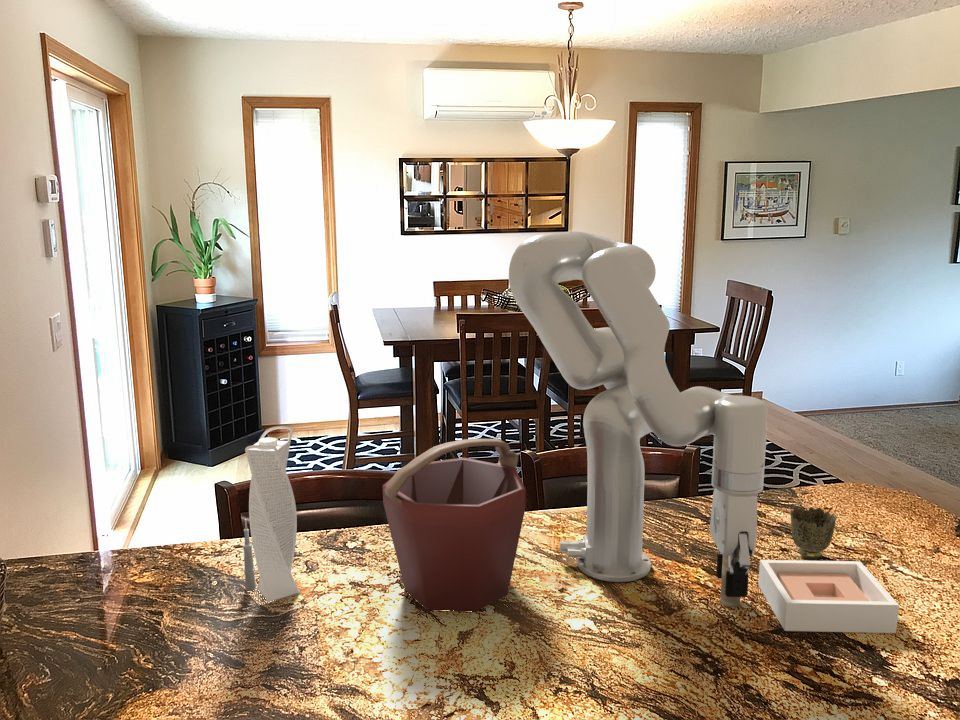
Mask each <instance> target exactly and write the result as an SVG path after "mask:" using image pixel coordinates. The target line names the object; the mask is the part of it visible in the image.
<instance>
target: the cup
mask: <svg viewBox="0 0 960 720" xmlns="http://www.w3.org/2000/svg"><path fill="white" fill-rule="evenodd" d="M836 522H837V516H836V515H835V513H832V514H830V512H829V510H827V511H824V510H823V509H822V508H821V507H818V508H814V507H813V506H809V508H808V510H802V507H801V506H800V507H796V506H795V507H793V510H792V509H790V527H791V530H790V531H791V537H792V540H793V542H794V544H795V545H796V547H798V548H799V549H798V552H799V555H800V556H801V557H802V558H804V559H807V560H810V561H816V560H819V559H820V558H821V556H822V552H823V551H825V550H827V548H829V547H830V544H831V543H832V540H833V535H834V531H835V526H836Z"/></svg>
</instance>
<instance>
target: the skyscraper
mask: <svg viewBox="0 0 960 720" xmlns="http://www.w3.org/2000/svg"><path fill="white" fill-rule="evenodd" d="M275 430H289V435H288V438H287V440H278V438H277V437H274V436H269V437H268V436H266V435H267V434H268V433H269V432H270V433H271V432H272V431H275ZM294 431H295V429H294V428H293V427H292V426H287V425H277V426H272V427H269V428H267V429H265V431H264V432H263V433H262V434H261V436H260V437H259V439H258V441H257V442H255V443H254V444H253V445H248V446H246V447H245V448H244V451H245V454H246V458H247V463H248V465H249V466H248V467H249V471H250V474H251V478H250V484H249V494H248V518H249V528H250V529H249V528H248V522H247V519H246V518H245V519H244V529H243V533H244V543H243V544H242V549H243V558H244V559H243V560H244V565H243V566H244V570H243V572H244V580H245V581H244V582H245V583H244V584H245V585H244V588H245V590H246V591H245V590H244V591H245V593H246V592H247V591H252V592H256V595H258V598H262V597H264V599H263V598H262V600H261V599H260V601H261V602H265V601H267V603H268V602H270V601H273V600H274V601H275V600H278V601H280V600H279V599H281V600H283V599H282V598H285V599H287V598H286V597H288V598H291V597H293V595H294V596H297V595H296V594H298V595H300V594H301V592H300V590H299V587H298V586H297V583H296V581H295V580H294V577H293V574H292V568H293V564H294V557H295V552H296V542H297V533H298V532H297V527H298V522H297V521H298V520H297V519H298V517H297V506H296V500H295V495H294V490H293V487H292V484H291V481H290V479H289V476H288V473H287V464H288V460H289V453H290V448H291V442H292V441H291V440H292V437H293V434H294ZM265 436H266V437H265ZM249 533H250V534H249ZM250 536H251V542H250ZM253 555H254V557H253ZM254 559H255V563H256V567H257V571H258V575H259V579H258V587H257V588H256V586H257V582H256V575H255V570H256V569H255V568H256V567H255V566H254ZM255 589H257V590H256V591H255ZM253 590H254V591H253ZM258 590H259V591H260V593H259V591H258ZM257 592H258V594H257ZM299 593H300V594H299ZM249 594H250V592H249ZM251 594H253V593H251ZM254 594H255V593H254ZM259 594H262V596H261V595H260V597H259ZM256 595H255V597H257V596H256ZM290 596H291V597H290ZM251 597H252V596H251ZM251 597H250V598H251ZM253 597H254V595H253ZM265 598H266V599H265ZM253 600H254V599H253ZM253 600H252V601H253ZM255 600H256V598H255ZM264 600H265V601H264ZM256 601H257V600H256ZM258 601H259V599H258ZM261 602H260V603H261ZM275 602H276V601H275ZM263 604H264V603H263ZM258 605H260V604H259V603H258ZM258 605H257V606H258ZM261 605H262V604H261ZM265 605H267V604H266V602H265ZM262 606H263V605H262Z"/></svg>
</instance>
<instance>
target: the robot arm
mask: <svg viewBox="0 0 960 720" xmlns="http://www.w3.org/2000/svg"><path fill="white" fill-rule="evenodd" d="M508 267H509V268H508V283H509V288H510V291H511V294H512V298H513V299H514V300H515V302H516V305H517V306H518V307H519V309H520V311H521V312H522V313H523V315H524V316H525V317H526V319H527V321H528V322H529V323H530V325H531V326H532V328H534V329H533V330H534V331H535V332H536V333H537V335H538V338H539V339H540V341H541V343H542V344H543V346H544V348H545V350H546V351H547V353H548V355H549V356H550V358H551V360H552V361H553V362H554V364H555V366H556V368H557V370H558V371H559V372H560V374H561V376H562V378H563V379H564V380H565V381H566V383H567V384H568V385H569V386H570V387H572V388H574V389H576V390H579V391H580V390H581V391H583V390H591V389H593V388H597V387H599V386H602V385H603V386H604V388H605V389H606V390H604V391H602V392H599V393H598V394H597V395H595V396H594V397H593V398H592V399H591V400H590V401H589V402H588V404H587V406H586V408H585V409H584V412H583V419H582V420H583V421H582V426H583V433H584V438H585V444H586V445H585V446H586V452H587V457H586V458H587V477H586V478H587V491H586V492H587V493H586V494H587V495H586V496H587V500H586V504H587V505H586V533H584V534H583V539H577V541H570V540H560V541H559V553H567V558H577V559H576V563H577V564H576V565H577V568H579V570H580V571H581V572H582V573H583V574H585V575H586V576H589V577H590V578H593V579H596V580H599V581H604V582H609V583H610V582H611V583H626V582H627V583H628V582H633V581H637V580H641V579H642V578H645V576H647V575H648V574H649V573H650V571H651V569H652V566H651V565H652V564H651V563H652V561H651V559H650V557H649V556H648V555H647V554H646V553H645V552H643V535H644V533H643V530H644V507H645V506H644V505H645V503H644V501H645V460H644V457H643V454H642V450H641V445H640V441H641V438H643V437H644V436H646V435H649V434H650V433H653V434H654V435H655V436H656V437H657V438H658V439H659V440H660V441H661V442H663V443H664V444H666V445H668V446H671V447H684V446H687V445H689V444H692V443H693V442H695V441H697V440H699V439H700V438H702V437H705V436H710V435H713V448H712V450H713V452H712V466H711V467H712V468H711V486H712V487H713V491H712V492H713V494H712V502H711V511H710V512H711V513H710V521H709V522H710V523H709V533H710V536H711V538H712V540H713V541H714V544H715V546H716V547H717V556H716V557H717V558H716V571H715V572H716V573H715V575H716V577H717V579H719V580H721V579H722V562H723V556H727V555H728V565H729V571H726V584H725V594H726V596H727V597H741V598H746V597H747V596H748V584H749V572H750V571H749V570H750V567H751V557H752V556H754V555H755V552H756V547H757V536H758V535H757V533H758V494H759V493H761V492H763V490H764V479H765V478H764V477H765V466H766V465H765V463H766V462H765V461H766V448H767V434H768V417H769V409H768V406H767V404H766V403H765V402H764V400H762V399H760V398H757V397H754V396H750V395H749V396H748V395H738V394H737V395H733V394H729V393H727V392H723V391H720V390H718V389H714V388H711V387H709V386H701V385H700V386H699V385H698V386H692V387H690V388H688V389H685V390H683V391H680V390H679V389H678V387H677V385H676V383H675V382H674V380H673V378H672V376H671V374H670V372H669V369H668V366H667V363H666V357H665V355H666V354H665V348H666V343H667V339H668V336H669V331H670V328H671V326H670V325H671V324H670V321H669V319H668V317H667V315H666V314H665V312H664V311H663V309H662V307H661V306H660V304H659V302H658V301H657V300H656V298H655V296H654V294H653V293H652V291H651V290H650V288H651V286H652V285H653V283H654V282H655V279H656V273H657V271H656V265H655V262H654V260H653V259H652V257H651V255H650V254H649V253H648V252H647V251H646V250H644V248H642V247H639V246H638V245H635V244H631V243H627V242H623V241H620V240H616V239H611V238H607V237H604V236H600V235H596V234H593V233H589V232H584V231H566V232H551V233H545V234H544V233H543V234H537V235H535V236H532V237H529V238H527V239H525V240H523V242H521V243H520V244H519V245H518V246H517V247H516V249H515V250H514V251H513V254H512V256H511V258H510V262H509V266H508ZM574 280H575V281H576V280H577V281H578V280H579V281H582V282H583V284H584V286H585V289H586V291H588V293H589V296H590V297H591V299H592V300H593V301H594V304H595V305H596V307H597V309H598V310H599V312H600V314H601V315H602V317H603V319H604V320H605V322H606V323H607V325H608V326H607V327H599V328H596V329H595V328H594V327H593V326H592V325H591V324H590V322H589V320H588V319H587V318H586V316H585V315H584V313H583V311H582V309H581V308H580V306H579V305H578V304H577V302H576V301H575V300H574V299H573V298H572V297H571V296H570V295H568V294H567V292H565V291H564V290H562V288H561V287H560V285H559V283H564V282H569V281H570V282H571V281H574ZM735 549H738V550H739V553H733V552H734V550H735ZM734 558H739V562H735V564H734Z"/></svg>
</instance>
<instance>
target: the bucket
mask: <svg viewBox="0 0 960 720" xmlns="http://www.w3.org/2000/svg"><path fill="white" fill-rule="evenodd" d="M474 447H494V448H495V451H496V452H497V453H498V462H497V463H495V462H489V461H484V460H478V459H475V458H468V457H459V458H450V459H442V460H437V459H439V458H440V457H442V456H443V455H445V454H448V453H452V452H455V451H458V450H462V449H467V448H474ZM435 460H437V461H435ZM518 462H519V456H518V454H517V453H516V452H515V451H513V450H511V447H510V445H509V443H507V442H505V441H503V440H502V439H500V438H467V439H466V438H465V439H460V440H455V441H454V440H453V441H448V442H444V443H441V444H438V445H435V446H433V447H431V448H429V449H427V450H425V452H423V453H421V454H420V455H418V456H416V457H414V458H413V459H412V460H411V461H410V462H408V463H407V464H406V465H404V466H402V467H401V468H399V469H398V470H397V471H396V472H395V473H394V475H393V476H392V477H391V478H389V479H388V480H387V481H386V482H384V484H382V504H383V507H384V512H385V515H386V520H387V524H388V527H389V528H388V529H389V531H390V535H391V539H392V544H393V547H394V551H395V555H396V560H397V563H398V567H399V571H400V576H401V579H402V583H403V587H404V591H405V592H406V591H407V592H408V593H409V594H410V595H411V596H412V597H414V598H415V599H416V600H417V601H418V602H419V603H421V605H420V606H422V605H423V606H424V607H425V608H426V609H427V610H450V611H453V610H454V611H472V612H471V613H473V612H475V613H477V612H479V611H480V610H479V609H481V610H483V609H484V607H485V608H486V607H488V606H490V605H492V604H494V603H496V602H498V601H500V600H502V599H503V598H505V597H507V596H508V595H509V590H510V585H511V580H512V575H513V574H512V573H513V570H514V566H515V561H516V560H515V559H516V556H517V551H518V547H519V546H518V545H519V540H520V536H521V531H522V527H523V526H522V525H523V522H524V516H525V512H526V502H527V501H526V499H527V496H526V493H527V492H526V491H527V489H526V487H525V484H524V482H523V480H522V479H521V477H520V475H519V472H518V470H517V469H516V468H517V466H518ZM407 592H406V593H407ZM408 593H407V594H408ZM409 594H408V595H409ZM410 595H409V596H410ZM411 596H410V597H411ZM412 597H411V598H412ZM414 598H413V599H414ZM415 599H414V600H415ZM499 599H500V600H499ZM416 600H415V601H416ZM497 600H498V601H497ZM417 601H416V602H417ZM418 602H417V603H418ZM419 603H418V604H419ZM423 606H422V607H423ZM424 607H423V608H424ZM425 608H424V609H425ZM482 608H483V609H482ZM426 609H425V610H426ZM427 610H426V611H427ZM478 610H479V611H478ZM476 611H477V612H476Z"/></svg>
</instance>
